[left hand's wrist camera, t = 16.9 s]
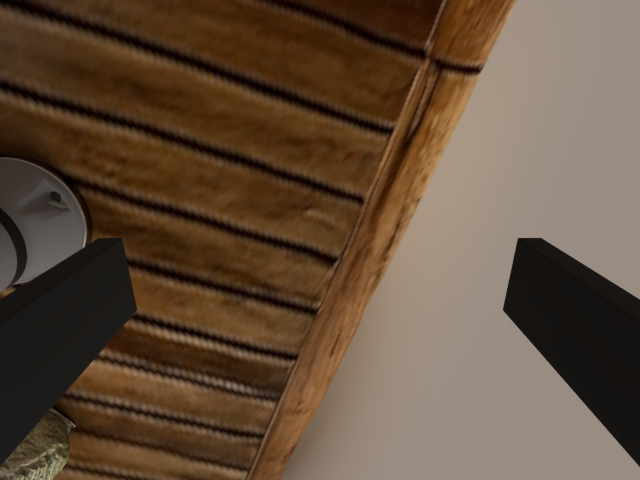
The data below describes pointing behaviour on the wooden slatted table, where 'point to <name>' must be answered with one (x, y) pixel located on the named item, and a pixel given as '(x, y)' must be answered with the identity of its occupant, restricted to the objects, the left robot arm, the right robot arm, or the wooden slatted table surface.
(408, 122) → the wooden slatted table surface
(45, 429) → the fossil
